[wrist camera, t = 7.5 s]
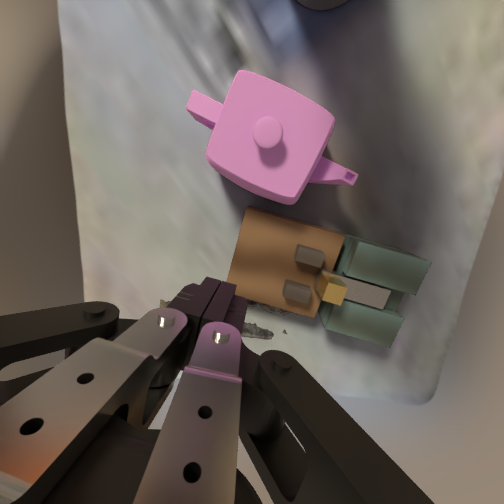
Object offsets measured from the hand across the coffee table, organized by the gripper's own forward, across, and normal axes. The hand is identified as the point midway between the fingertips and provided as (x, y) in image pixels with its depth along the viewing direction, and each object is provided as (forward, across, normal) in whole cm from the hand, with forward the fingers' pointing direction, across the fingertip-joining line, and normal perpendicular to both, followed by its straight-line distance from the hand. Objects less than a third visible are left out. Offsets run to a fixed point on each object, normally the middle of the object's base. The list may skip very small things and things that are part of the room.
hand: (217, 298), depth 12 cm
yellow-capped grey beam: (+18, -13, +3) cm, 22 cm away
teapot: (+23, 0, -10) cm, 25 cm away
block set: (+22, -9, +3) cm, 24 cm away
